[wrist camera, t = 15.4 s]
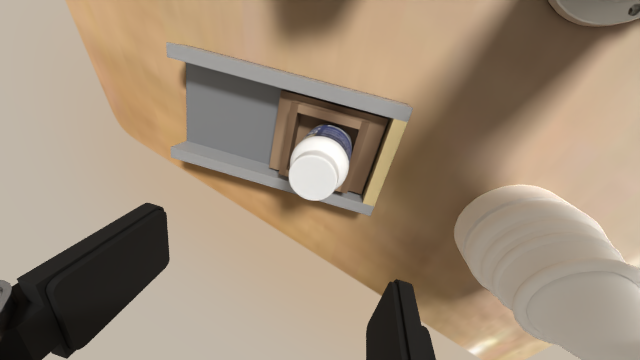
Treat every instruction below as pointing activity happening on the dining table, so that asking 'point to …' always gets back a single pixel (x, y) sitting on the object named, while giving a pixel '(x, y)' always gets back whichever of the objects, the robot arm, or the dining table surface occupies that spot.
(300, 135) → the crate
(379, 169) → the bay
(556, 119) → the dining table surface
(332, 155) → the pill bottle
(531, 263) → the honey pot
